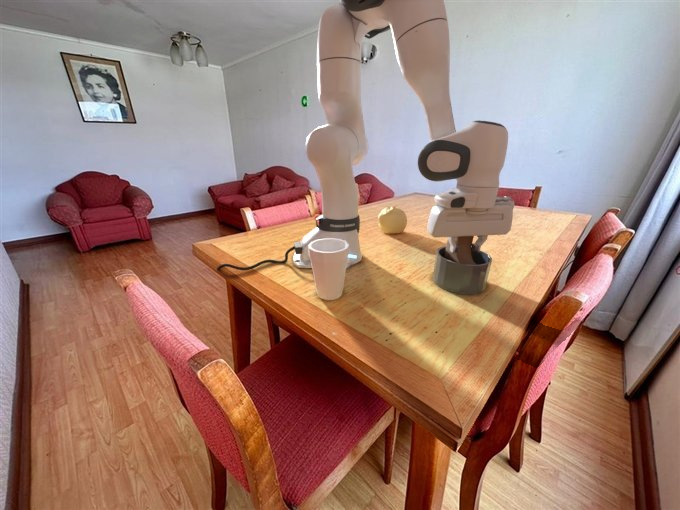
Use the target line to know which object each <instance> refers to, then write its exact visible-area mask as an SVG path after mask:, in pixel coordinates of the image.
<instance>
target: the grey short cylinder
mask: <svg viewBox="0 0 680 510" xmlns="http://www.w3.org/2000/svg"><path fill="white" fill-rule="evenodd" d="M446 245H447V244H444V245H443V246H442V247H440V248H438V249H437V250H436V253H435V261H434V267H433V273H432V280H433V282H434V284H435V285H436V286H438V287H439V288H441V289H443V290H444V291H447V292H450V293H454V294H458V295H466V296H468V295H469V296H471V295H477V294H480V293H482V292H484V291H485V289H486V286H487V282H488V278H489V274H490V269H491V266H492V262H493V258H492V256H491V255H490V254H488V253H487V252H485V251H483V250H480V251H479V252H473V251H472V250H471V256H472V259H473V262H475V263H476V264H477V265H467V264H460V263H456V262H453V261H449V260H447V259H445V258H444V255H445V250H446Z"/></svg>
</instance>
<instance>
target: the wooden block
mask: <svg viewBox="0 0 680 510" xmlns="http://www.w3.org/2000/svg"><path fill="white" fill-rule="evenodd" d="M474 238H475V236H460V237H457V240H454V242H455V244H456V245H458V246H459V249H458V250H459V251H458V252H456V253H452V252H450V243H449V241H448V239H447V242H446V244H445V245H446V250H445V255H444V258H445V259H447V260H449V261H453V262H456V263H460V264H467V265H477V264H476V263H475V262H473V259H472V256H471V247H472V246H471V245H472V243H474V242H473V241H474Z"/></svg>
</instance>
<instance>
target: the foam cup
mask: <svg viewBox="0 0 680 510" xmlns="http://www.w3.org/2000/svg"><path fill="white" fill-rule="evenodd" d="M308 252H309V257H310V260H311V265H312V268H311V270H312V274H313V280H314V285H315V290H316V294H317V295H316V296H317V297H318V298H320V299H321V300H325V301H333V300H337V299H339V298H340V297H342V295H343V291H344V286H345V277H346V273H347V272H346V271H347V269H346V265H347V258H348V255H349V244H348V243H347V242H346V241H344V240H341V239H335V238H324V239H318V240H315V241H313V242H311V243H310V244H309V245H308Z"/></svg>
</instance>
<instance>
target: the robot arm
mask: <svg viewBox="0 0 680 510" xmlns="http://www.w3.org/2000/svg"><path fill="white" fill-rule="evenodd" d="M390 30H391V34H392V39H393V45H394V50H395V56H396V60H397V64H398V67H399V69H400V72H401V75H402V77H403V79H404V81H405V83H407V85H408V86H409V87H410V89H411V90H412V91H413V93H414V94H415V95H416V96H417V98H418V99H419V101H420V103H421V105H422V108H423V111H424V115H425V120H426V121H425V122H426V126H427V130H428V136H429V142H428V143H426V145H424V146H423V147H422V148H421V150H420V151H419V154H418V156H417V168H418V171H419V173H420V175H421V176H422V177H423V178H425V179H426V180H428V181H431V182H435V183H437V182H445V181H449V180H456V187H454V188H452V189H449V190H446V191H443V192H440V193H437V194H436V195H435V196H434V198H433V201H434V203H435V205H434V206H432V208H431V209H430V212H429V217H428V220H427V226H426V231H427V233H428V234H429V235H430V236H431V237H433V238H446V239H447V240H448V241H449V243H450V252H452V253H456V252H458V251H459V250H458V249H459V246H458V245H456V244H455V242H454V240H457V237H460V236H474V237H477V238H476V241H475V242H472V245H471V250H472V251H473V252H479V251H481V248H482V246H483V245H484V244H485V242H486V241H487V240H488V236H505V235H508V234H509V233H510V232H511V230H512V224H513V218H514V217H513V216H514V208H515V201H514V199H513V198H512V197H511V196H498V192H499V187H500V174H501V172H502V170H503V167H504V166H505V162H506V157H507V151H508V145H509V131H508V129H507V127H505V126H504V125H503V124H502V123H498V122H494V121H489V120H473V121H471V122H470V123H469V124H467V125H466V126H464V127H462V128H460V129H459V130H456V126H455V119H454V114H453V109H452V108H453V107H452V102H451V94H450V93H451V92H450V72H451V71H450V67H451V66H450V65H451V63H450V62H451V42H450V40H451V39H450V29H449V21H448V16H447V10H446V6H445V1H444V0H339V3H338V4H334V5H330V6H329V7H327V8H326V9H325V10H324V11H323V12H322V14H321V15H320V18H319V22H318V32H317V43H316V66H317V67H316V68H317V93H318V102H319V103H320V104H319V105H320V106H321V107H322V110H323V113H324V117H325V120H326V124H325V125H322V126H318V127H317V128H315V129H312V130H311V132H310V133H309V134H308V136H307V137H306V141H305V154H306V157H307V159H308V161H309V162H310V164H311V165H312V166H313V167H314V169H315V172H316V175H317V178H318V182H319V186H320V193H321V212H322V214H319V213H315V214H314V221H315V226H316V227H314V228H313V229H312V230H311V231H309V232H308V233H307V234H305V235H304V236H303V237H302V238H301V240H299V241H294V242H293V246H292V247H290V248H289V249H287V250H286V252H285V253H284V259H283V260H275V259H265V260H261V261H259V262H257V263H255V264H252V265H250V266H237V265H234V264H230V263H222V264H220V265H218V267H217V268H216V270H221V269H222V268H225V267H227V268H231V269H234V270H239V271H248V270H253V269H255V268H257V267H258V266H260V265H263V264H266V263H272V264H285V263H287V262H288V261H289V253H291V252H292V251H294V254H293V257H292V260H293V261H292V262H293V266H295V268H296V267H297V268H299V269H312V265H311V260H310V257H309V252H308V245H309V244H310V243H311V242H313V241H315V240H318V239H324V238H335V239H341V240H344V241H346V242H347V243H348V244H349V255H348V258H347V265H346V270H347V269H349V268H350V267H351V266H353V265H355V264H358V263H359V262H361V261H362V260H363V254H362V250H361V246H360V245H361V243H360V237H359V233H360V230H361V218H360V214H359V199H360V198H359V197H360V195H359V193H360V191H359V187H358V186H357V183H356V180H355V175H354V168H353V167H354V166H356V165H358V164H359V163H360V162H362V161H363V160H364V158H365V157H366V156H367V154H368V151H369V141H368V138H367V135H366V130H365V121H364V114H363V107H362V47H363V40H364V39H370V40H371V39H374V37H377V36H378V35H379V34H383V33H385V32H388V31H390Z"/></svg>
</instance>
